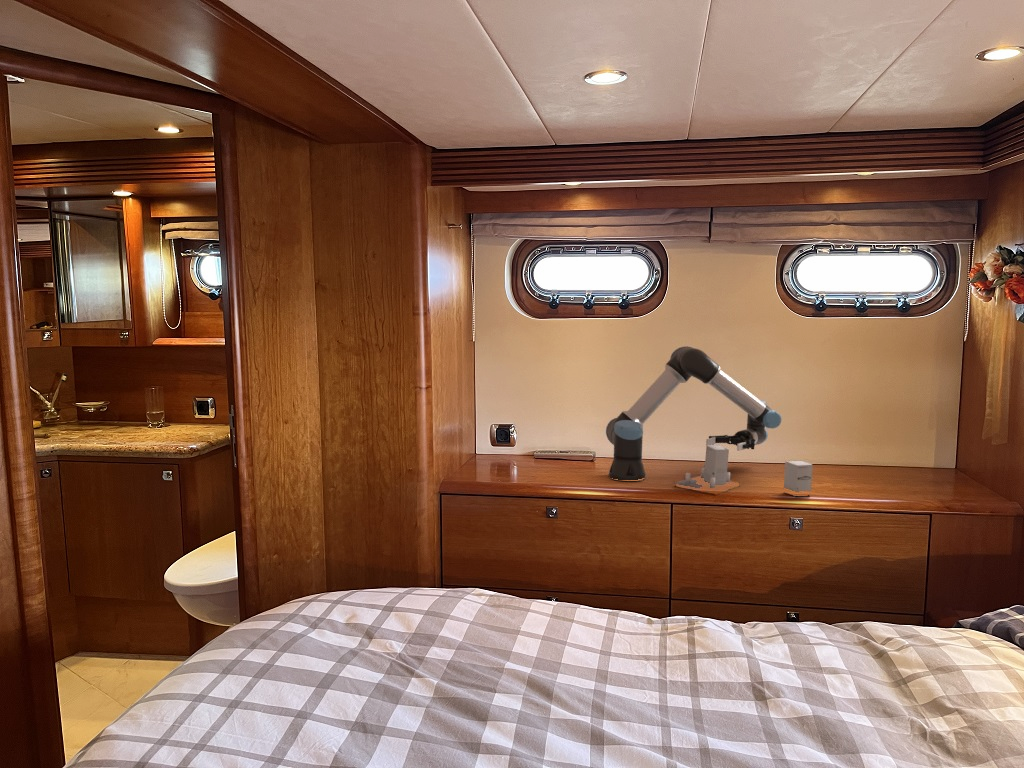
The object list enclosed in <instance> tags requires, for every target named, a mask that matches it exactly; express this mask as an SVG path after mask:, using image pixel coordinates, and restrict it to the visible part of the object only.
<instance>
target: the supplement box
mask: <svg viewBox="0 0 1024 768" xmlns="http://www.w3.org/2000/svg"><path fill="white" fill-rule="evenodd" d="M813 466H814V464H812V463H810V462H806V461H802V460H796V461H795V460H794V461H792V460H791V461H790V460H789V461H784V476H783V477H784V479H783V489H784V488H786V489H789V490H792V491H795V492H799V491H811V492H812V484H813V483H812V481H813Z"/></svg>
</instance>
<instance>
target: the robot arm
mask: <svg viewBox="0 0 1024 768" xmlns="http://www.w3.org/2000/svg"><path fill="white" fill-rule="evenodd" d="M664 366H665V367H664V368H665V369H664V370H663V372H662V373H661V374H660V375H659V376H658V377H657V378H656V380H655V381H654V382H653V383H652V384H651V385H650V386H649V387H648V388H647V390H646V391H645V392H643V394H642V395H641V396H640V397H639V398H638V399H637V400H636V402H635V403H633V405H632V406H631V407H630V408H629V409H628V410H622V411H621V413H620V414H619V415H617V417H614V418H613V419H611V420H609V421H608V423H607V424H606V428H605V435H606V438H607V440H608V441H609V442H610V444H612V445H613V459H612V463H611V466H610V468H609V471H608V478H609V477H610V478H613V479H618V480H638V479H642V478H645V479H646V477H647V475H646V472H645V467H644V464H643V460H642V459H643V435H644V423H646V422H647V420H648V419H649V418H650V417H651V416H652V415H653V413H655V411H657V409H658V408H660V406H661V405H662V404H663V403H664V402H665V400H667V398H668V397H669V396H670V395H671V394H672V393H673V392H674V391H675V389H676V388H677V387H678V386H679V385H680V384H686V383H687V382H688V381H689V380H690V378H691V377H693V378H695V379H697V380H698V381H700V382H702V383H703V384H704V385H707V384H709V385H710V386H711V387H712V388H713V389H715V390H717V392H718V393H720V394H721V395H723V396H724V397H726V398H727V399H728V400H729V401H731V402H732V403H733V404H734V405H736V406H737V407H738V408H740V409H741V410H743V411H744V412H745V413H746V414H747V415H746V416H747V418H746V429H742V430H738V431H737V432H735V433H734V435H728V434H723V435H709V436H708V438H706V439H705V440H706V444H705V446H706V445H716V444H728V445H733V446H736V451H738V452H741V451H743V450H746V449H747V450H749V449H750V450H755V446H757V445H761V444H763V443H764V442H766V441H767V439H768V435H769V433H768V431H767V429H772V430H773V429H776V428H778V427H779V426H780V425H781V423H782V420H783V419H782V416H781V413H780V412H778V411H777V410H774V409H772V408H771V407H769V406H768V405H767V402H766V401H765V400H761V399H759V397H757V396H755V395H754V393H751V392H750V391H749V390H747V389H746V388H745V387H743V386H742V385H741V384H740V383H739V382H737V381H736V380H734V379H733V378H732V377H731V376H729V375H728V374H727V373H726V372H725V371H723V370H722V369H721V366H720V365H719V364H718V363H716V361H714V360H713V359H712V358H711V357H710V356H709V355H708V354H707V353H706V352H704V351H703V350H701V349H699V348H697V347H696V348H695V347H692V346H688V345H687V346H680V347H678V348H676V349H675V350H673V351H672V353H671V355H670V359H668V361H667V362H666V363H665V365H664ZM766 428H767V429H766ZM610 478H609V479H610ZM613 479H612V480H613Z"/></svg>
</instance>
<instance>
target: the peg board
mask: <svg viewBox="0 0 1024 768" xmlns="http://www.w3.org/2000/svg"><path fill="white" fill-rule="evenodd" d="M704 469H705V467H701V471H700V475H701V478H704ZM684 478H685V479H684V480H680V481H678V482H675V483H674V485H675V484H679V485H684V486H690V487H695V488H700V487H702V485H698V484H696V482H697V481H696V480H692V479H691V478H695V476H693V477H691V473H690V472H685V477H684ZM730 481H731V472H730V471H727V478H726V482H730ZM710 488H715V478H713V477H712V478H710Z"/></svg>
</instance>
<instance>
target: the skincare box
mask: <svg viewBox="0 0 1024 768" xmlns="http://www.w3.org/2000/svg"><path fill="white" fill-rule="evenodd" d="M705 446H706V448H705V458H704V459H705V460H704V468H705V469H704V481H705V482H708V483H710V478H712V477H713V478H715V485H724V484H726V478H727V472H728V465H729V453H730V452H729V451H730V449H728V448H726V447H725V446H722V445H720V444H714V445H706V444H705Z"/></svg>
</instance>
